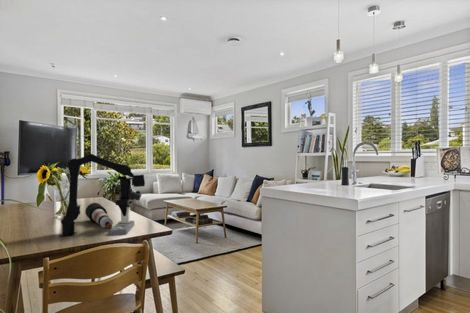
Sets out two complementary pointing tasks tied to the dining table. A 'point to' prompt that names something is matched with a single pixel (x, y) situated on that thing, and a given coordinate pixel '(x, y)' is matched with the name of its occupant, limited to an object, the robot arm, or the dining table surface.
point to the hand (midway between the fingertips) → (125, 215)
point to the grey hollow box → (122, 228)
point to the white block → (126, 218)
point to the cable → (98, 215)
